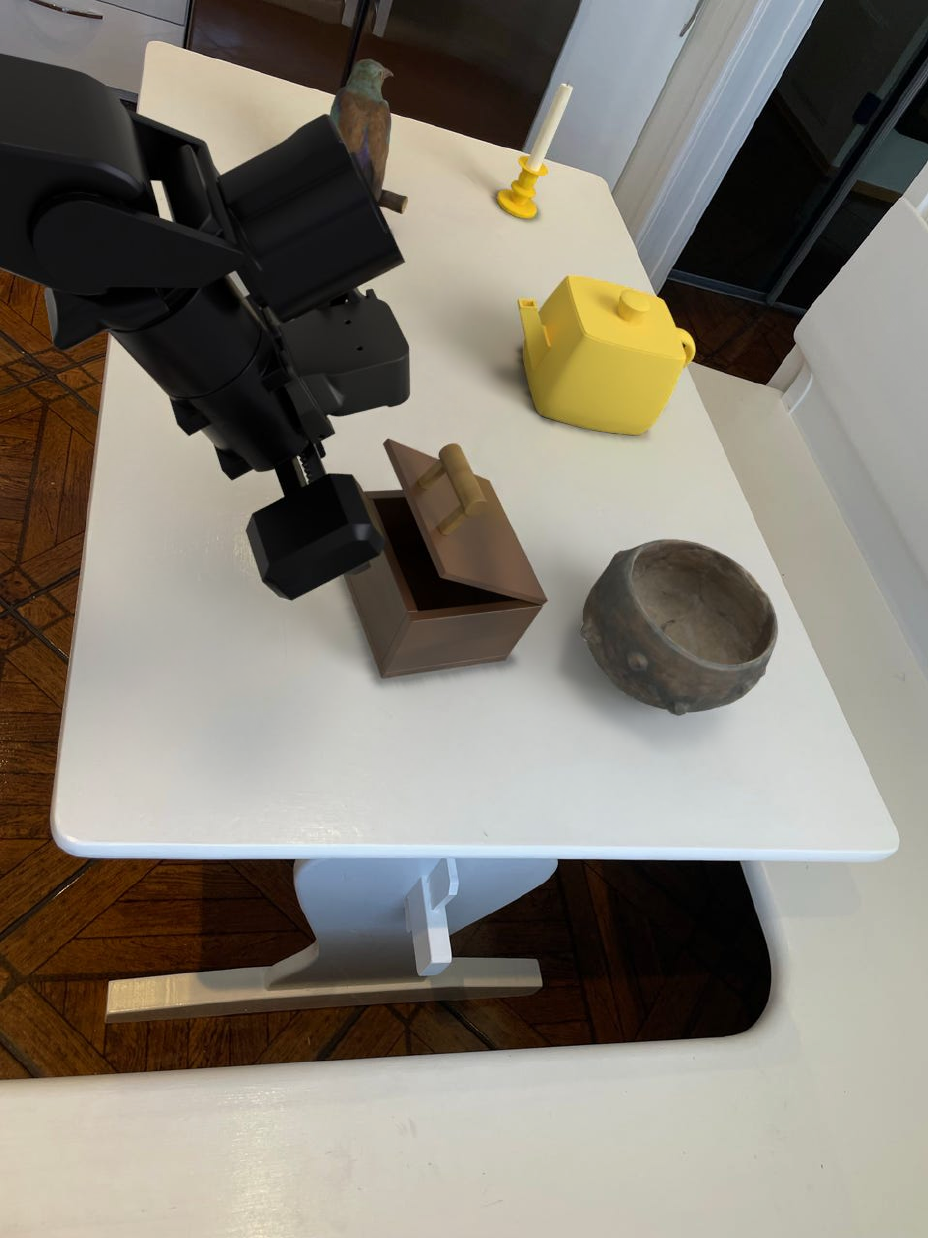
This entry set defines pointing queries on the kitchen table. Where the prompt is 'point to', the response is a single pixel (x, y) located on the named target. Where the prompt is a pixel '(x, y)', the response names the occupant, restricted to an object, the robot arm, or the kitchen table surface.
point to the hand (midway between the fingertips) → (340, 511)
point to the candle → (534, 162)
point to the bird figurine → (367, 127)
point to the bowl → (679, 626)
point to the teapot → (602, 355)
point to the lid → (463, 522)
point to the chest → (428, 604)
